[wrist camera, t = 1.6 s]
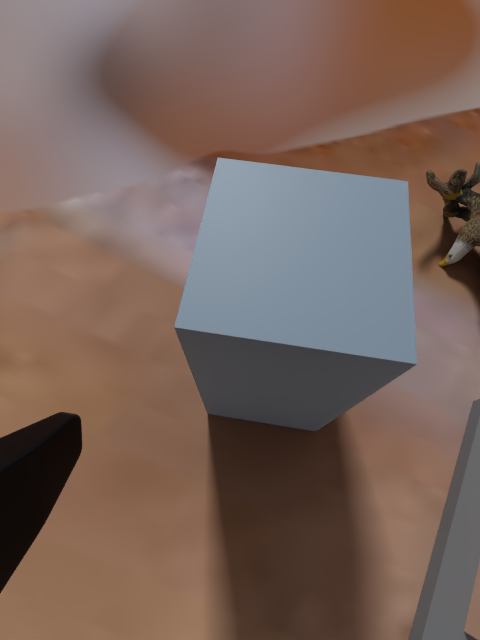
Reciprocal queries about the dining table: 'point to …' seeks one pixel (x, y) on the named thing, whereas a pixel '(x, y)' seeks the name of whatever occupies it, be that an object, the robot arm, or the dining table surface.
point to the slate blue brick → (298, 293)
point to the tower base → (456, 553)
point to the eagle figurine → (460, 209)
